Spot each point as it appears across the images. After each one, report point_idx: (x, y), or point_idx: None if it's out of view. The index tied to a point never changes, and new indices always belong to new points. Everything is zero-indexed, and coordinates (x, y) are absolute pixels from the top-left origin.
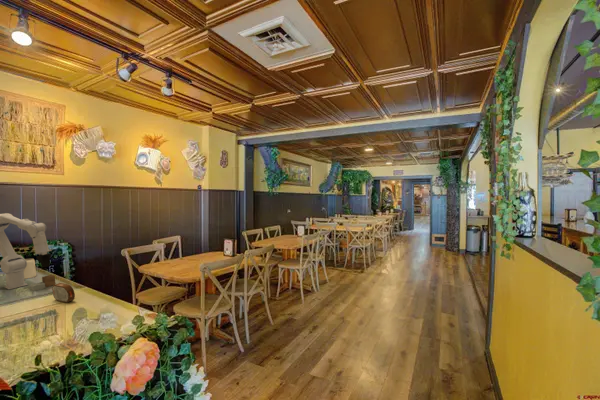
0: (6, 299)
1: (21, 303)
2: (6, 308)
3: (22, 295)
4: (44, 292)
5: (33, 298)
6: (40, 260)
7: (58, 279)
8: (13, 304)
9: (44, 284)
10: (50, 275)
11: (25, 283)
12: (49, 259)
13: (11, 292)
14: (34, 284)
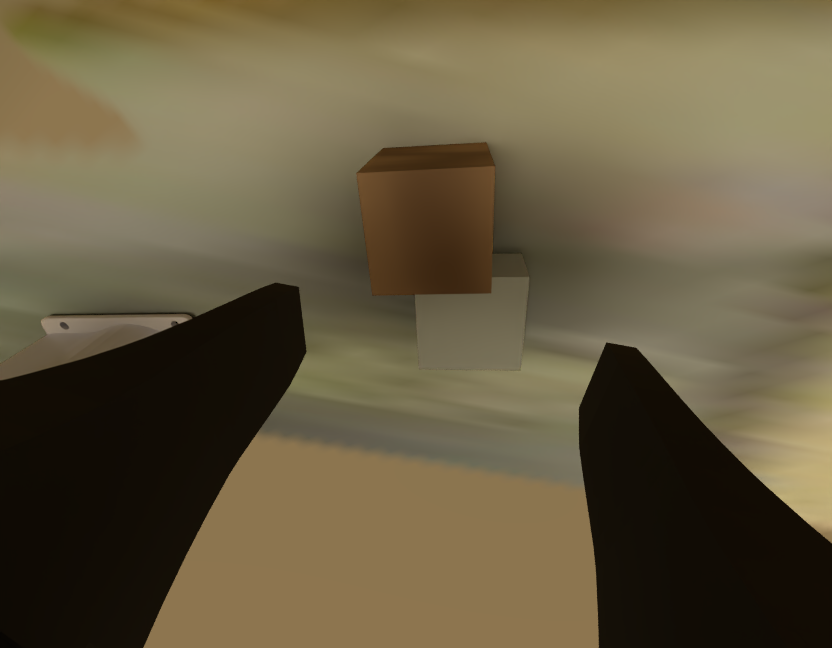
0: (552, 478)
1: (826, 465)
2: (816, 522)
3: (568, 412)
4: (712, 304)
5: (802, 399)
6: (201, 496)
7: (190, 26)
8: (772, 489)
9: (525, 275)
10: (405, 203)
11: (130, 320)
12: (790, 511)
13: (354, 425)
14: (452, 346)
